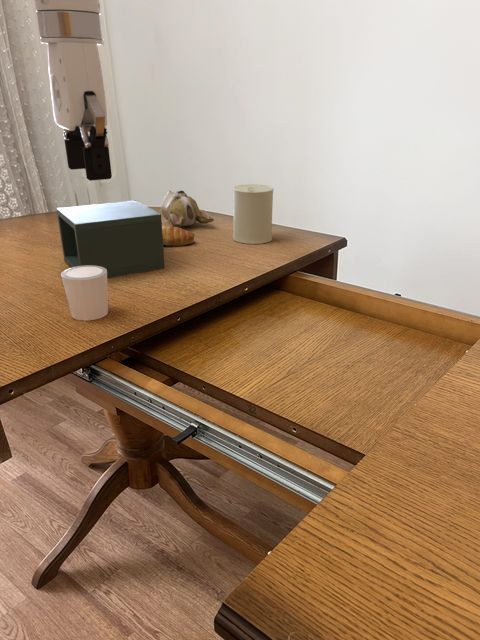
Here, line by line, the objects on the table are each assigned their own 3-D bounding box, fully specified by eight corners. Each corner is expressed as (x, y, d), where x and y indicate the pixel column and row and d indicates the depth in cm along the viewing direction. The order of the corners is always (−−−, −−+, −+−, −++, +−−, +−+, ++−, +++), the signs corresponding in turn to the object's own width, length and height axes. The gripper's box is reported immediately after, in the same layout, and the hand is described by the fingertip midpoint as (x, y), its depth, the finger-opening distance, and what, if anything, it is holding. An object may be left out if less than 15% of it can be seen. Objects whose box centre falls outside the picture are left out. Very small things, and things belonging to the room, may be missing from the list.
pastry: (196, 239, 126) (195, 222, 124) (192, 247, 120) (191, 230, 118) (155, 238, 126) (154, 222, 124) (150, 247, 120) (148, 230, 118)
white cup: (119, 307, 89) (115, 267, 86) (97, 324, 83) (91, 281, 80) (82, 303, 91) (76, 262, 87) (58, 319, 85) (51, 276, 81)
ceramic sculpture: (187, 182, 141) (216, 196, 130) (188, 215, 145) (216, 231, 135) (149, 186, 135) (176, 201, 125) (151, 220, 140) (177, 237, 129)
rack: (83, 281, 99) (75, 224, 95) (64, 260, 110) (56, 208, 105) (164, 268, 107) (161, 214, 102) (139, 249, 118) (135, 200, 113)
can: (228, 242, 123) (228, 188, 118) (237, 232, 132) (237, 181, 126) (268, 245, 122) (270, 190, 117) (275, 234, 130) (276, 183, 125)
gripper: (26, 32, 72) (47, 166, 80) (55, 25, 59) (77, 186, 67) (83, 35, 76) (98, 163, 84) (122, 29, 63) (136, 181, 71)
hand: (89, 173), depth 75 cm, fingers open, 9 cm apart
